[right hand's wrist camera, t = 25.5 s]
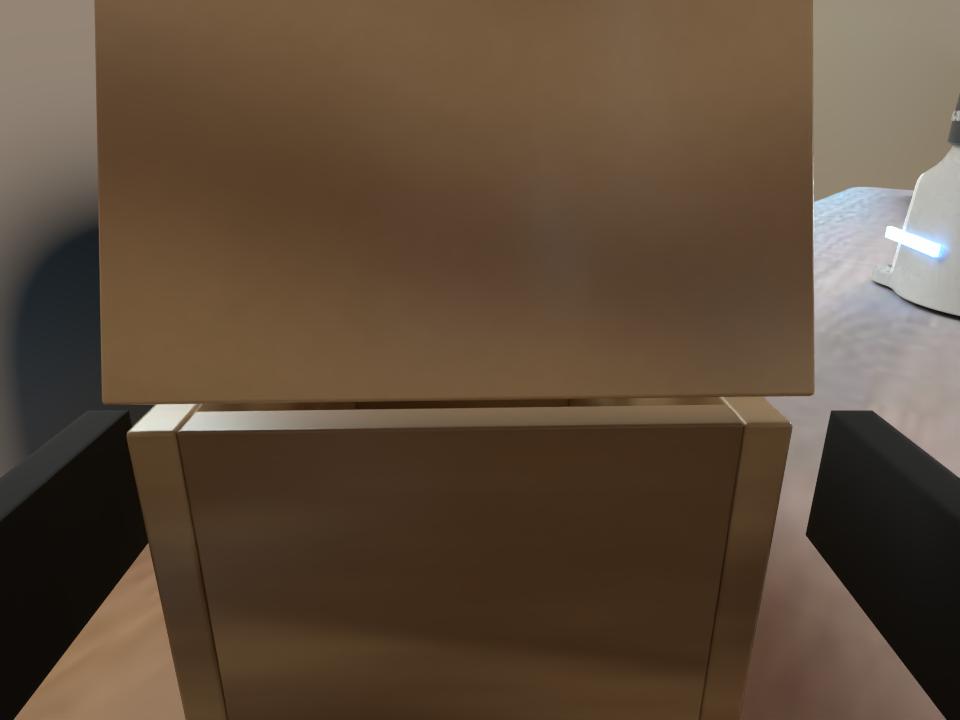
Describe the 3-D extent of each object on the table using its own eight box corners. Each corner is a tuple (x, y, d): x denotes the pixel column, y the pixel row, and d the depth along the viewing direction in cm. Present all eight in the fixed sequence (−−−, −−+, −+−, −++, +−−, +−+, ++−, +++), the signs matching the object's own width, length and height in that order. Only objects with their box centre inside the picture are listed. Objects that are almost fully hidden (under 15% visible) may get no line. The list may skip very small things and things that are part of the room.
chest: (343, 445, 28) (326, 236, 25) (581, 442, 28) (594, 234, 25) (208, 839, 13) (121, 433, 10) (722, 824, 13) (796, 423, 10)
